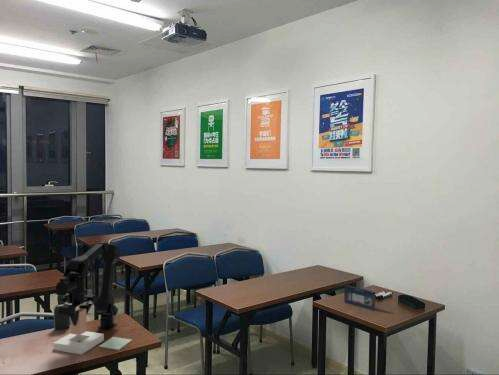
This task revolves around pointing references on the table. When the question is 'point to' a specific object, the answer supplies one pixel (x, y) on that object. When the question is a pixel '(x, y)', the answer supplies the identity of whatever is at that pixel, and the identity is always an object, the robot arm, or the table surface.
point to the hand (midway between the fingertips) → (78, 323)
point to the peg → (80, 323)
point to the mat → (115, 343)
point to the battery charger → (60, 319)
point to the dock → (73, 346)
